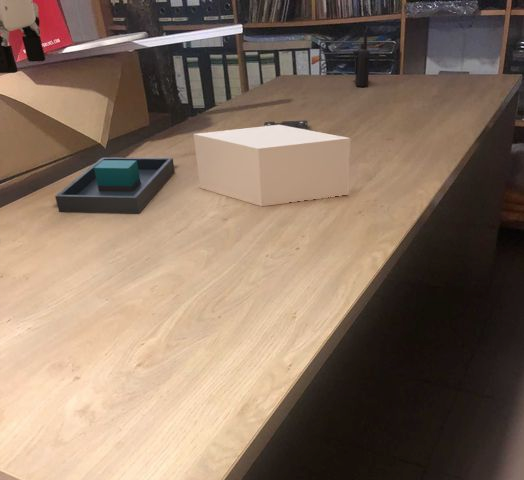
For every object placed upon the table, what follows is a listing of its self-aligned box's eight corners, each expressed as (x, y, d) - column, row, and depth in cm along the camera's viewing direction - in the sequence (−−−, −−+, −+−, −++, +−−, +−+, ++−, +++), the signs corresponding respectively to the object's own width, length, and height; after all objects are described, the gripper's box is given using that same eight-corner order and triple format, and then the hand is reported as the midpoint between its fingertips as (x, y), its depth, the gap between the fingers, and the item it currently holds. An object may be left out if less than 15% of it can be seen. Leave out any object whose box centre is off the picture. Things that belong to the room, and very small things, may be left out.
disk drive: (264, 134, 143) (262, 152, 131) (263, 121, 142) (261, 139, 130) (307, 132, 143) (309, 150, 131) (307, 119, 141) (309, 137, 129)
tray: (139, 213, 107) (136, 197, 105) (59, 211, 110) (54, 196, 108) (174, 172, 124) (172, 157, 122) (104, 171, 127) (101, 157, 125)
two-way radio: (369, 87, 176) (372, 30, 167) (354, 88, 176) (356, 31, 167) (364, 83, 181) (366, 27, 172) (350, 84, 180) (351, 29, 172)
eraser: (98, 190, 115) (93, 167, 112) (107, 182, 119) (103, 160, 116) (132, 191, 114) (128, 168, 111) (140, 183, 117) (136, 160, 115)
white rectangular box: (342, 210, 103) (343, 151, 97) (186, 202, 110) (178, 146, 104) (354, 181, 114) (356, 126, 108) (212, 175, 121) (206, 123, 115)
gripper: (0, -54, 100) (28, 57, 110) (-63, -49, 87) (-25, 77, 97) (40, -56, 99) (65, 56, 109) (-17, -52, 85) (17, 77, 95)
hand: (23, 66), depth 103 cm, fingers open, 9 cm apart
